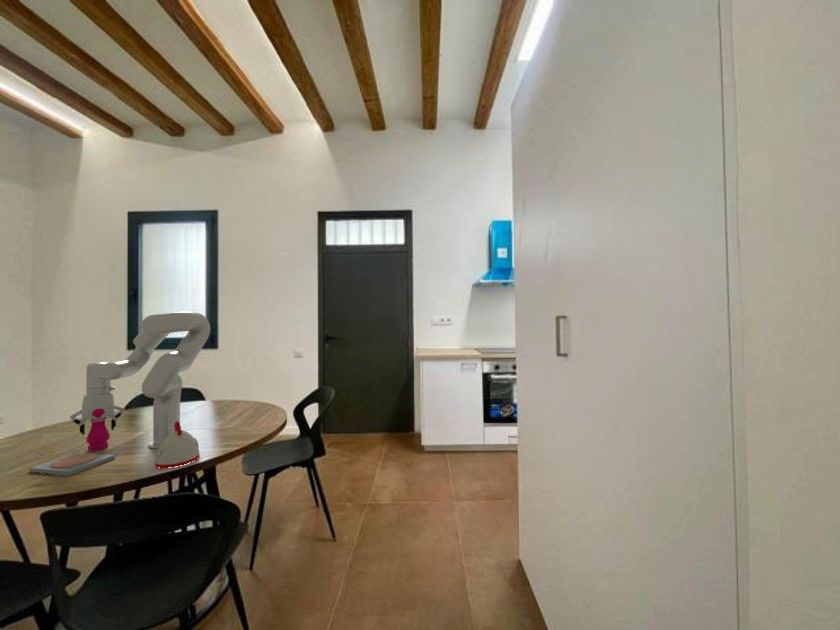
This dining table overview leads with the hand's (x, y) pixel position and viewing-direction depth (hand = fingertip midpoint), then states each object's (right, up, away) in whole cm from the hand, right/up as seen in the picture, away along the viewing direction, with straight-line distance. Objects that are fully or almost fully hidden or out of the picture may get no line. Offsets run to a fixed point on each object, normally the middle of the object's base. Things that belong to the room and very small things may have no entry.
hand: (98, 431), depth 144 cm
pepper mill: (0, -7, 0) cm, 7 cm away
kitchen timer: (+44, -7, -14) cm, 47 cm away
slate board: (+7, -7, -17) cm, 19 cm away
